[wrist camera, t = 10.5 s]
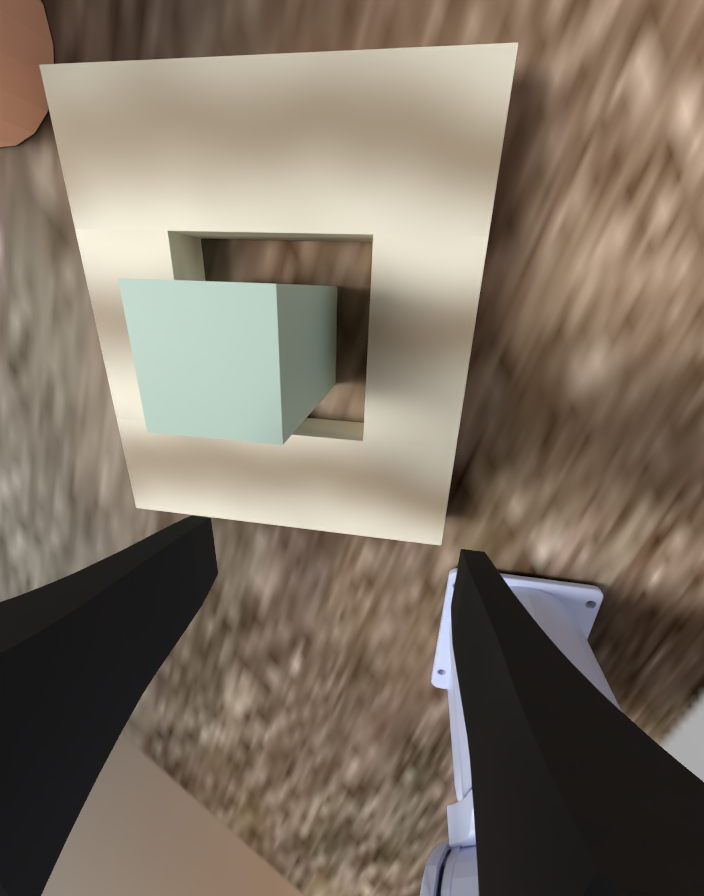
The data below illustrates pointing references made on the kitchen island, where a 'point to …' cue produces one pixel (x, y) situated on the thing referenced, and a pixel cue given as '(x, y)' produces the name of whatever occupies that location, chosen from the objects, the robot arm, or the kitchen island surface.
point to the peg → (230, 355)
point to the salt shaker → (22, 68)
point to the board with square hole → (297, 219)
